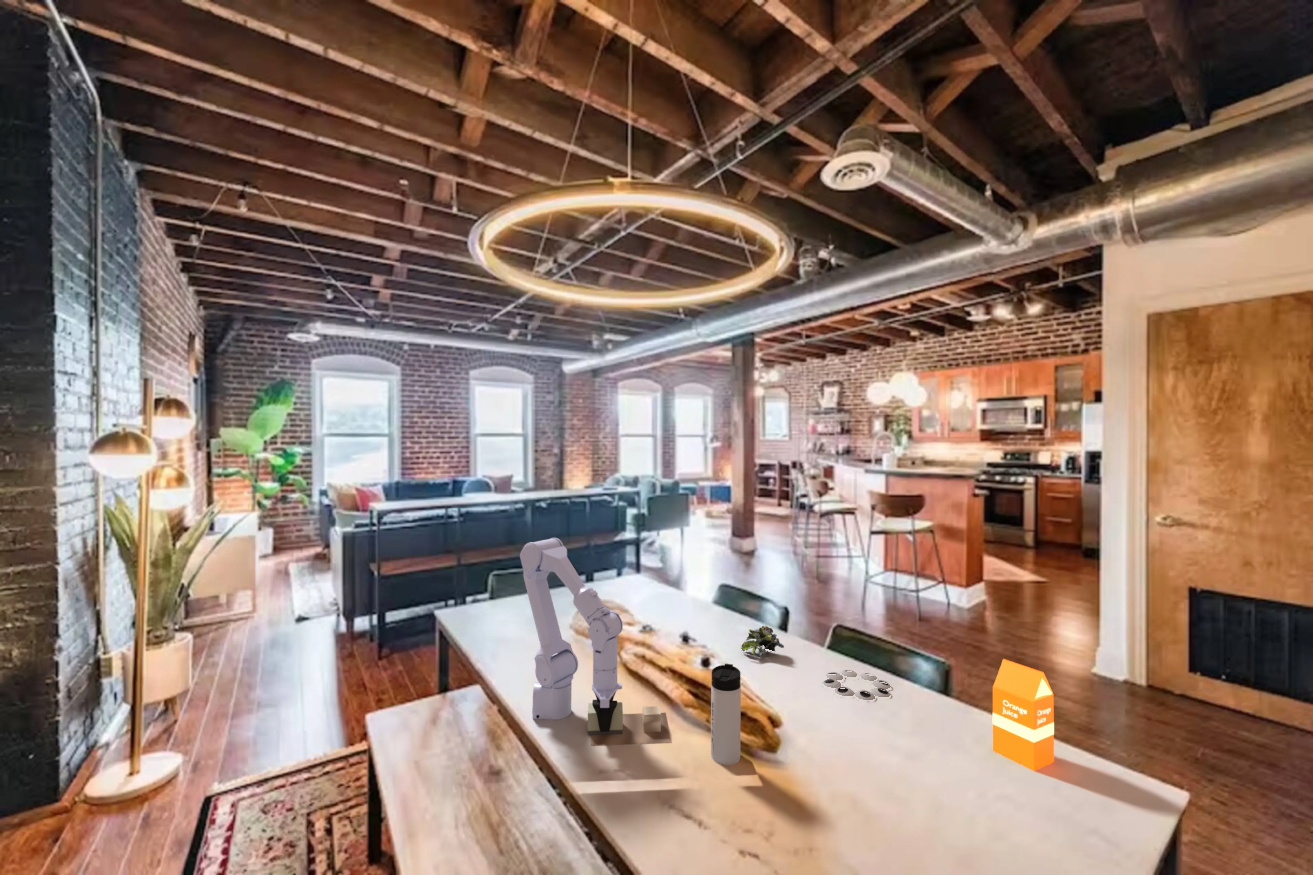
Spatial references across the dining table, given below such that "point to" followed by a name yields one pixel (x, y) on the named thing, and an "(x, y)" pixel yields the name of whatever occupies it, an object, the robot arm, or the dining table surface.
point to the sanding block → (615, 722)
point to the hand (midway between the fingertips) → (604, 724)
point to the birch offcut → (651, 719)
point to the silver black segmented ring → (857, 694)
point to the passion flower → (761, 640)
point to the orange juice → (1023, 716)
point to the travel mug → (725, 714)
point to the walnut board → (634, 733)
